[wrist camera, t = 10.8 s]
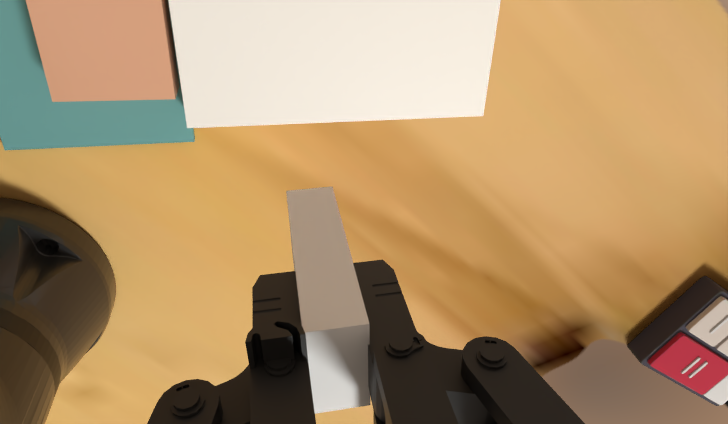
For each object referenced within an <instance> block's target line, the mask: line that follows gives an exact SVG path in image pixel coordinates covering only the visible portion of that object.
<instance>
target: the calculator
mask: <svg viewBox="0 0 728 424" xmlns="http://www.w3.org/2000/svg"><path fill="white" fill-rule="evenodd" d="M626 345H627V344H626ZM627 347H628V348H629V349H630V350H631V352H632V353H633V354H634V355H635V356H636V358H637V359H638V360H639V362H640V363H641V364H643V365H644V366H646V367H648V368H650V369H652V370H653V371H655V372H657V373H659V374H661V375H662V376H664V377H666V378H668V379H670V380H671V381H673V382H675V383H676V384H678V385H680V386H682V387H684V388H685V389H687V390H689V391H691V392H692V393H694V394H696V395H698V396H700V397H701V398H703V399H705V400H707V401H708V402H710V403H712V404H714V405H716V406H719V405H722V404H724V403H725V402H726V401H728V291H727V290H725V289H724V288H722V287H721V286H720V285H718V284H717V283H715V282H714V281H713V280H711V279H710V278H708V277H707V276H703V277H701V278H700V279H699V280H698V281H697V282H696V283H695V284H694V285H693V286H691V287H690V288H689V289H688V290H687V291H686V292H685V293H684V294H683V295H682V296H680V297H679V298H678V299H677V300H676V301H675V302H674V303H673V304H672V305H671V306H670V307H668V308H667V309H666V310H665V311H664V312H663V313H662V314H661V315H660V316H659V317H657V318H656V319H655V320H654V321H653V322H652V323H651V324H650V325H649V326H648V327H646V328H645V329H644V330H643V331H642V332H641V333H640V334H639V335H638V336H637V337H636V338H634V339H633V340H632V341H631V342H630V343H629V344H628V345H627Z"/></svg>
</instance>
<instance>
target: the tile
mask: <svg viewBox="0 0 728 424" xmlns="http://www.w3.org/2000/svg"><path fill="white" fill-rule="evenodd" d="M26 3H27V7H28V11H29V15H30V19H31V22H32V26H33V30H34V34H35V38H36V41H37V45H38V49H39V53H40V57H41V60H42V64H43V68H44V72H45V76H46V80H47V83H48V87H49V91H50V95H51V99H52V102H71V101H118V100H164V99H176V96H177V93H178V90H179V79H178V72H177V65H176V57H175V50H174V43H173V35H172V28H171V20H170V13H169V6H168V0H26Z"/></svg>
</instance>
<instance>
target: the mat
mask: <svg viewBox="0 0 728 424" xmlns="http://www.w3.org/2000/svg"><path fill="white" fill-rule="evenodd" d="M168 6H169V1H168ZM169 13H170V8H169ZM170 20H171V15H170ZM171 28H172V21H171ZM172 35H173V28H172ZM173 43H174V50H175V57H176V65H177V72H178V79H179V90H178V93H177V96H176V99H164V100H118V101H71V102H52V99H51V95H50V91H49V87H48V83H47V80H46V76H45V72H44V68H43V64H42V60H41V57H40V53H39V49H38V45H37V41H36V38H35V34H34V30H33V26H32V22H31V19H30V15H29V11H28V7H27V3H26V0H0V138H1V141H2V143H3V146H4V149H5V150H21V149H43V148H65V147H87V146H109V145H131V144H153V143H174V142H194V141H195V136H194V129H193V128H187V124H186V117H185V110H184V103H183V96H182V90H181V83H180V76H179V69H178V62H177V56H176V49H175V42H174V35H173Z"/></svg>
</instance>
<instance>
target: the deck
mask: <svg viewBox="0 0 728 424" xmlns="http://www.w3.org/2000/svg"><path fill="white" fill-rule="evenodd" d="M168 1H169V8H170V15H171V21H172V28H173V35H174V42H175V49H176V56H177V62H178V69H179V76H180V83H181V90H182V96H183V103H184V110H185V117H186V124H187V128H204V127H228V126H252V125H276V124H301V123H325V122H349V121H373V120H397V119H421V118H445V117H469V116H483V114H484V107H485V101H486V94H487V87H488V81H489V74H490V67H491V61H492V54H493V47H494V41H495V34H496V27H497V21H498V14H499V7H500V1H501V0H168Z"/></svg>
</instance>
